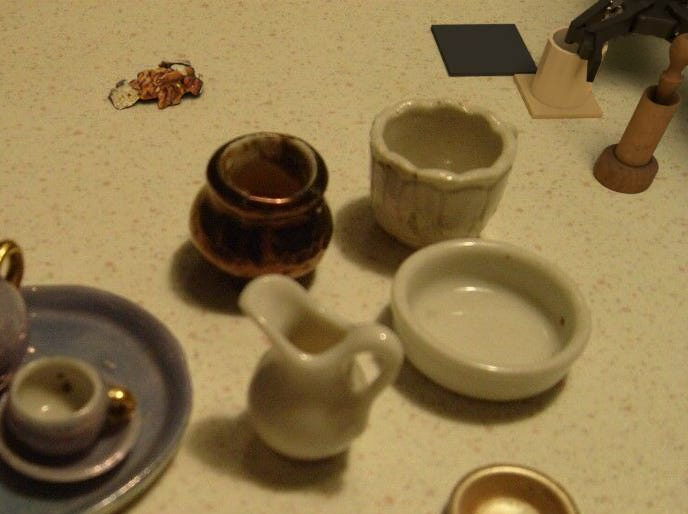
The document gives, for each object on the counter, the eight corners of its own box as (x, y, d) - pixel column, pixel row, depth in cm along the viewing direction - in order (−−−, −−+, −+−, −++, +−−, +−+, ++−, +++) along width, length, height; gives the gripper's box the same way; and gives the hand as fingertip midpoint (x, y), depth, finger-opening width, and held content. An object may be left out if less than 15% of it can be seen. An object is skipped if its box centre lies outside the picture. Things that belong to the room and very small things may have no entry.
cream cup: (574, 81, 114) (596, 25, 107) (591, 112, 109) (615, 56, 103) (522, 82, 113) (542, 25, 107) (537, 113, 109) (558, 57, 103)
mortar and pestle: (618, 199, 99) (689, 59, 85) (581, 166, 102) (644, 27, 88) (663, 185, 100) (739, 45, 86) (625, 153, 104) (693, 14, 90)
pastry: (102, 90, 111) (100, 66, 108) (186, 68, 114) (186, 44, 111) (123, 120, 107) (121, 95, 104) (210, 96, 110) (210, 72, 107)
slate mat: (513, 27, 122) (514, 23, 121) (537, 75, 114) (539, 71, 114) (430, 28, 121) (431, 24, 121) (449, 76, 114) (450, 72, 113)
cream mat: (579, 76, 114) (581, 73, 114) (601, 117, 109) (603, 113, 108) (513, 77, 114) (514, 73, 113) (532, 118, 108) (533, 114, 108)
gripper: (743, 36, 110) (757, 132, 97) (544, 3, 114) (532, 91, 101) (774, -21, 104) (793, 73, 91) (563, -53, 108) (553, 32, 96)
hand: (656, 83), depth 96 cm, fingers open, 13 cm apart
